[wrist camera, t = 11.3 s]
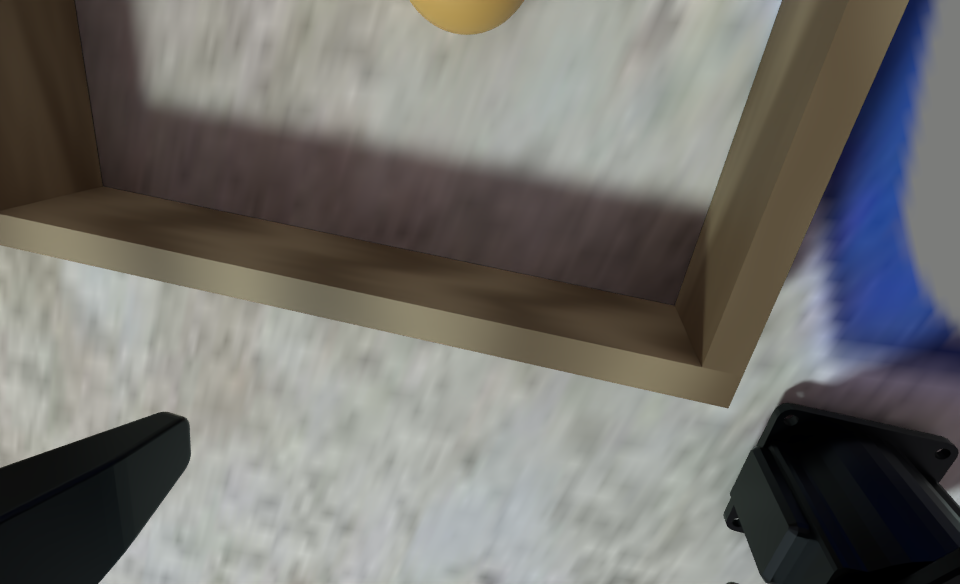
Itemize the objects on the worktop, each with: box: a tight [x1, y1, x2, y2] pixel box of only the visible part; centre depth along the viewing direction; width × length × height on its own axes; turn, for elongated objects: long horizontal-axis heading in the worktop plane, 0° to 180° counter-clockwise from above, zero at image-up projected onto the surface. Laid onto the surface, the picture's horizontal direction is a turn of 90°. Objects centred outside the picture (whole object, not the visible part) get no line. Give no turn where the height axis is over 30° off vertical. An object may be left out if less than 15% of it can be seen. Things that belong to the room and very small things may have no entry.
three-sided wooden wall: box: [0, 0, 909, 408], centre depth 16 cm, size 26×14×4 cm, turn 81°
